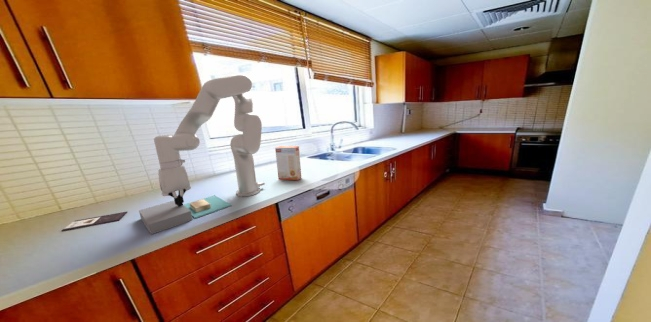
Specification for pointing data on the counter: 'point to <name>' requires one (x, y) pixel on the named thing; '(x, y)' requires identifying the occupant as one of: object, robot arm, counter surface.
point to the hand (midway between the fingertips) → (180, 204)
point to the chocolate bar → (94, 221)
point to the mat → (214, 202)
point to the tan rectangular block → (200, 205)
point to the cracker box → (288, 162)
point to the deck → (164, 216)
